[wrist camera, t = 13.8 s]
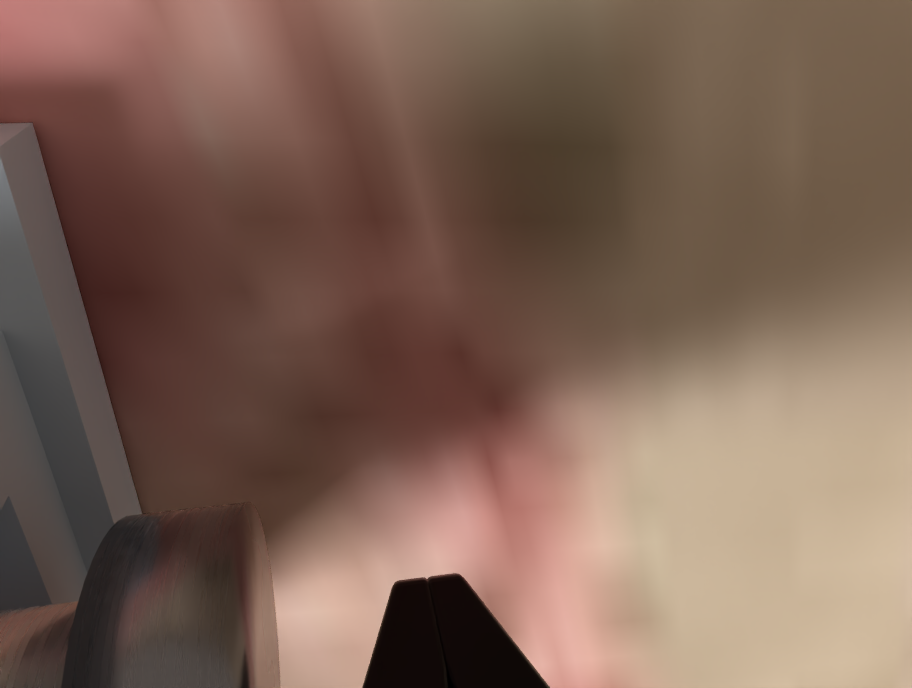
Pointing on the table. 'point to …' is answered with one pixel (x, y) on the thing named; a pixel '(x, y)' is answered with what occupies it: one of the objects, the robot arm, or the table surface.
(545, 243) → the table surface
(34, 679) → the shaft
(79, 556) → the rail
